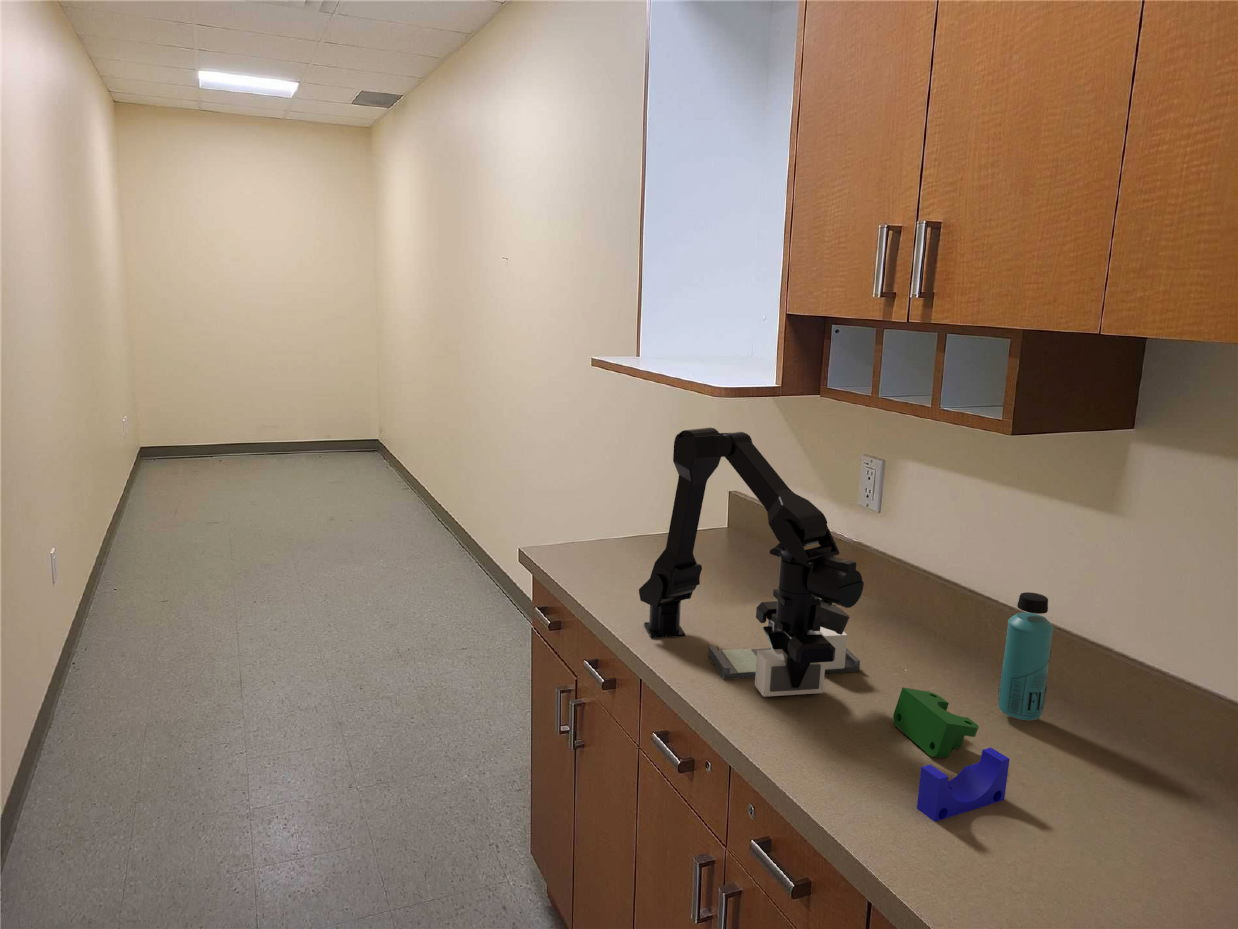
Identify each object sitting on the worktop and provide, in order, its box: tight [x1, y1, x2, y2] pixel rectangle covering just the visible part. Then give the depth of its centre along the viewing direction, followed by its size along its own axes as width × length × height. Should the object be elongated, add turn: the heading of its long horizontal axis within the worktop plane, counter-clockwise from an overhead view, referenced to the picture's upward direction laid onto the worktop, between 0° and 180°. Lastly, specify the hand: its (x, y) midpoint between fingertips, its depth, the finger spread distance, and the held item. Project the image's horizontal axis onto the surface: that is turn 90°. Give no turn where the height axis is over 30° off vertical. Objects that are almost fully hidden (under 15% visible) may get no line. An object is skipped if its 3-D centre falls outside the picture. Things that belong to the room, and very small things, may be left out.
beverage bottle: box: [996, 591, 1054, 721], centre depth 133 cm, size 6×7×20 cm
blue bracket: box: [916, 747, 1010, 823], centre depth 112 cm, size 12×4×6 cm, turn 116°
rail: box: [707, 645, 861, 680], centre depth 152 cm, size 9×24×2 cm, turn 101°
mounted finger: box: [808, 627, 848, 669], centre depth 152 cm, size 10×5×6 cm, turn 11°
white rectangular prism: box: [754, 649, 826, 697], centre depth 141 cm, size 4×10×6 cm, turn 101°
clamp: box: [892, 686, 980, 759], centre depth 128 cm, size 12×6×9 cm, turn 9°
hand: (789, 680), depth 141 cm, fingers closed on white rectangular prism, 4 cm apart
